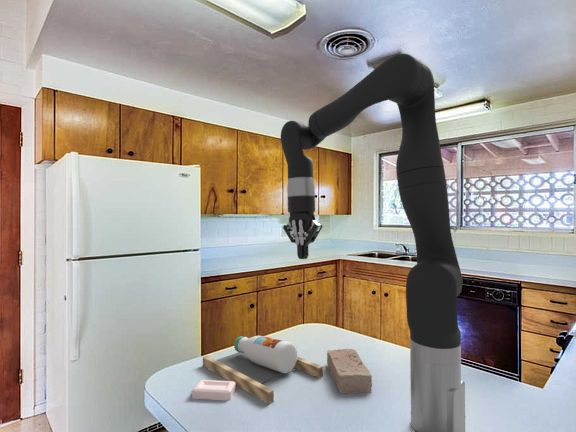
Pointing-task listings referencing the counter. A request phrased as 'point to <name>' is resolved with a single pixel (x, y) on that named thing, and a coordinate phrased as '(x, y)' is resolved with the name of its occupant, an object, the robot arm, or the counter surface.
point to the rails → (252, 385)
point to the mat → (250, 368)
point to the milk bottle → (268, 352)
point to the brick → (349, 371)
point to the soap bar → (214, 390)
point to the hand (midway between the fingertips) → (302, 258)
